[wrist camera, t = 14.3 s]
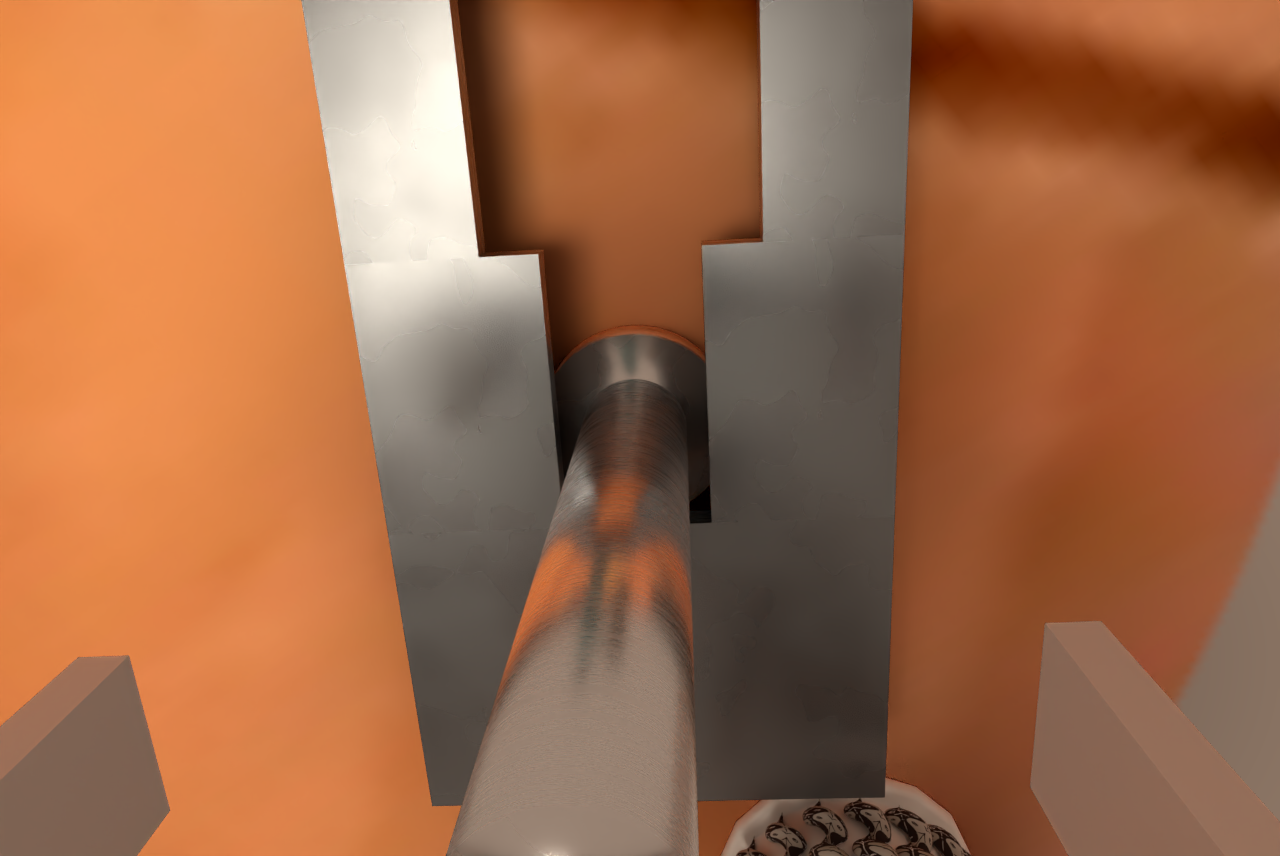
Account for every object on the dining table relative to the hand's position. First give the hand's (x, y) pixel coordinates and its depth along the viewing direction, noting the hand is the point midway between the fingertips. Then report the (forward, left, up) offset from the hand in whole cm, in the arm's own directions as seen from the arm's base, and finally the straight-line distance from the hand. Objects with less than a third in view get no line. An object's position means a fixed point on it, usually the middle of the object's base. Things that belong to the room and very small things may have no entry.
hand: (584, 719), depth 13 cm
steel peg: (0, 0, -13) cm, 13 cm away
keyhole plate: (+3, 0, -13) cm, 13 cm away
